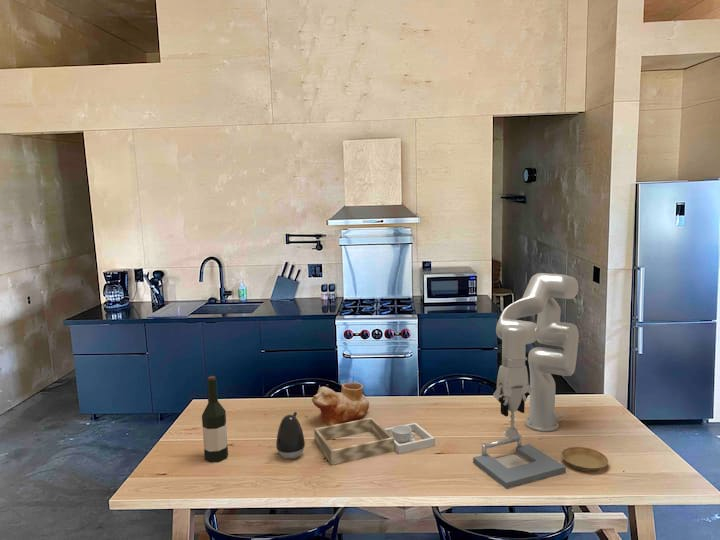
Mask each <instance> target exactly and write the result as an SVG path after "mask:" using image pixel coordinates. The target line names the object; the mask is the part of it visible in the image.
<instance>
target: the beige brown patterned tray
mask: <svg viewBox="0 0 720 540" xmlns="http://www.w3.org/2000/svg"><path fill="white" fill-rule="evenodd" d="M385 429H386V428H384V427H383V426H382V425H380V424H379V423H378V422H377V421H376V420H375V419H374V418H373V417H369V418H362V419H360V420H355V421H351V422H347V423H341V424H336V425H331V426H328V425H327V426H322V427H316V428H314V429H313V436H314V437H313V438H314V443H315V444H316V446H317V447H318V448H319V449H320V451H321V452H322V454H323V456H325V458H326V459H327V460H328V462H329V463H330V465H331V466H334V465H340V464H342V463H343V464H344V463H349V462H353V461H356V460H362V459H366V458H370V457H374V456H379V455H384V454H388V453H392V452H395V450H394V438H393V437H392V436H391V435H390V434H389V433H388V432H387V431H386V430H385ZM368 432H371V433H372V434H373V436H375V437H376V438H377V439H378V440H373V441H368V442H363V443H359V444H358V443H357V444H353V445H350V446H345V447H340V448H335V449H334V448H332V446H331V445H330V444H329V442H328V441H329V440H334V439H338V438H339V439H340V438H342V437H349V436H353V435H359V434H362V433H363V434H364V433H368Z"/></svg>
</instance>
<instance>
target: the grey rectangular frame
mask: <svg viewBox="0 0 720 540" xmlns="http://www.w3.org/2000/svg"><path fill="white" fill-rule="evenodd" d="M515 453H516V454H517V455H519V456H520V457H521V458H522V459H525V460H526V461H527V464H523V465H519V466H515V467H511V468H506V467H505V466H504V465H502V464H501V463H500V462H498V461H497V460H495V459H496V458H494V457H493V456H492V455H490V454H489V453H486V456H483V455H482V454H481V455H478V456H473V457H472V463H473V464H474V465H475V466H476V467H478V468H479V469H480V470H482V471H483V472H484V473H485V474H487V475H488V476H489V477H490V478H492V479H493V480H494V481H495V482H497V483H498V484H500V485H501V486H502V487H503V488H504V489H506V490H507V489H511V488H515V487H518V486H521V485H526V484H528V483H532V482H535V481H536V482H537V481H540V480H543V479H548V478H551V477H554V476H557V475H560V474H561V475H562V474H564V473H565V474H566V470H567V467H566V465H564V464H562V463H561V462H559V461H558V460H555V459H554V458H553V457H551V456H550V455H548V454H546V453H545V452H543V451H541V450H540V449H538V448H537V447H535V446H534V445H532V444H530V443H527V444H523V445H522V444H521V447H517V446H516V447H515Z"/></svg>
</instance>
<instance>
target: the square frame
mask: <svg viewBox="0 0 720 540" xmlns="http://www.w3.org/2000/svg"><path fill="white" fill-rule="evenodd" d="M404 425H405V426H409V427H410V428H411V429H412V430H411V432H413V433H416V434H417V435H419V437H421V438H422V439H418V440H415V441H413V442H408V443H404V444H399V443H398V442H397V441H395V440H394V452H396V453H397V454H398V455H400V454H404V453H409V452H413V451H417V450H422V449H427V448H431V447H435V446H436V438H435V436H433V435H432V434H430V433H429V432H428V431H426V429H424V428H423V427H421V425H419V424H418V423H417V422H412V423H407V424H404ZM393 427H394V426H393ZM393 427H387V428H384V429H385V430H386V431H387V432H388V433H389V434H390V435H391V436H393V434H392V428H393Z"/></svg>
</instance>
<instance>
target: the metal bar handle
mask: <svg viewBox="0 0 720 540" xmlns="http://www.w3.org/2000/svg"><path fill="white" fill-rule="evenodd" d="M522 436H523V435H520V437H519V438H516V439H511V438H508V437H507V438H505V439H500V440H496V441H493V442H487V443H481V455H483V456H486V454H487V449H491V448H495V447H499V446H504V445H508V444H511V443H515V442H516V447H521V446H522V441H523V440H522V439H523V438H522Z"/></svg>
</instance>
